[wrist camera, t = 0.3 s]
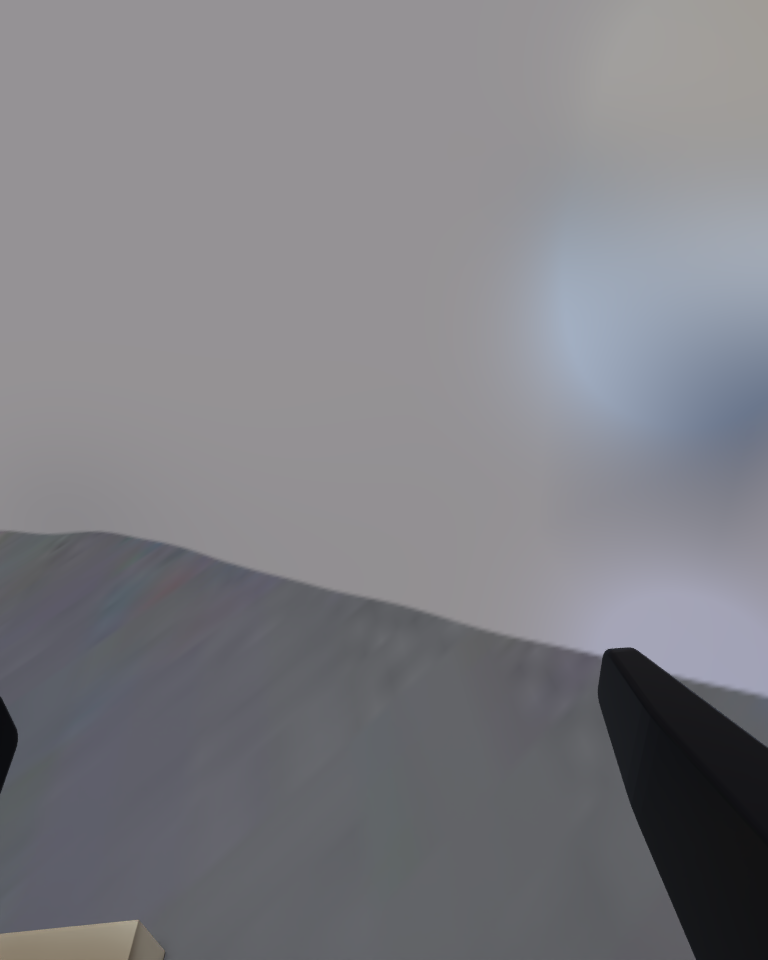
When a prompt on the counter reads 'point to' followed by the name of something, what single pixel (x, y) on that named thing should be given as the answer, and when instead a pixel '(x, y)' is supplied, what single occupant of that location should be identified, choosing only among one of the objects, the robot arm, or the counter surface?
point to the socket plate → (83, 943)
